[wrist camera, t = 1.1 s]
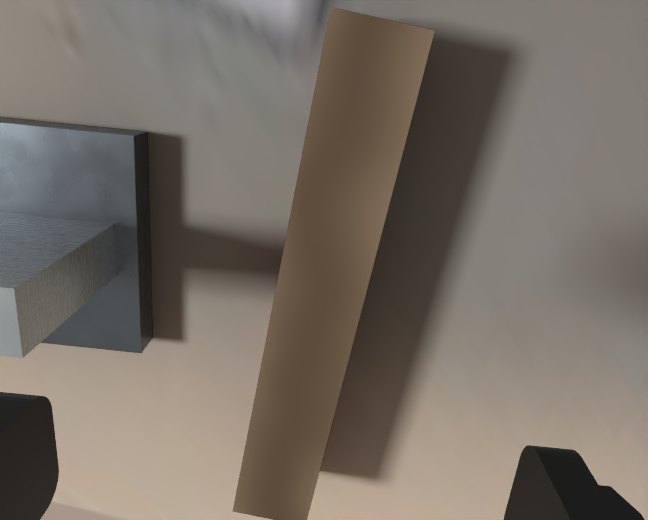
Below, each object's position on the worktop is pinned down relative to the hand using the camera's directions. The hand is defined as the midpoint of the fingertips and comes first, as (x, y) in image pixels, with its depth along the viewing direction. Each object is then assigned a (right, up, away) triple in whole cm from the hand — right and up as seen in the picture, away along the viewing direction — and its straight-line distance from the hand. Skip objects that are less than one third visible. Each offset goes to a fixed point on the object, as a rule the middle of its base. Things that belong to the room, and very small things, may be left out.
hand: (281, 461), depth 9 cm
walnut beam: (+1, +3, +16) cm, 16 cm away
